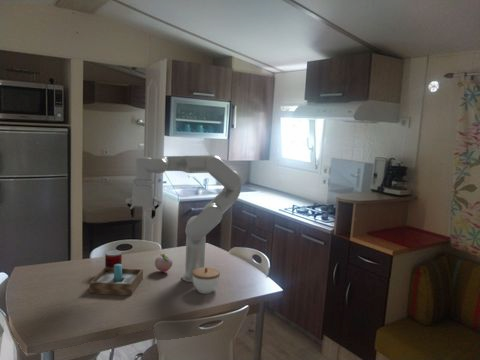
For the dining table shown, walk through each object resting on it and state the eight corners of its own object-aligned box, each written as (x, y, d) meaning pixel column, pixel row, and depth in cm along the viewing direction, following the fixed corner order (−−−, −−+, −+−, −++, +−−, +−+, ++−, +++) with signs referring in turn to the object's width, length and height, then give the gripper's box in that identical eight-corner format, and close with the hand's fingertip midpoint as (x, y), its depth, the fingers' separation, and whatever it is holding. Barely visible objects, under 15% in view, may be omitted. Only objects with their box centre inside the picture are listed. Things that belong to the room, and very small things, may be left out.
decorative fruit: (151, 271, 201) (151, 252, 200) (165, 268, 206) (165, 250, 205) (160, 277, 194) (161, 257, 193) (174, 273, 199) (175, 254, 198)
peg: (120, 287, 179) (120, 266, 178) (112, 287, 179) (112, 266, 178) (122, 284, 183) (123, 264, 182) (115, 284, 183) (115, 263, 182)
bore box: (142, 279, 190) (143, 269, 190) (131, 295, 172) (131, 284, 171) (105, 277, 190) (105, 267, 190) (89, 293, 172) (89, 282, 171)
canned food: (123, 271, 199) (124, 250, 198) (117, 277, 191) (117, 255, 190) (109, 270, 200) (109, 249, 198) (102, 275, 192) (102, 254, 191)
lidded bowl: (186, 288, 182) (187, 266, 180) (208, 282, 190) (209, 261, 188) (201, 298, 172) (202, 274, 171) (224, 292, 180) (225, 269, 179)
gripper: (123, 182, 184) (123, 218, 186) (159, 184, 183) (158, 220, 186) (128, 180, 191) (127, 214, 193) (163, 182, 191) (162, 216, 193)
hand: (143, 217), depth 189 cm, fingers open, 9 cm apart
